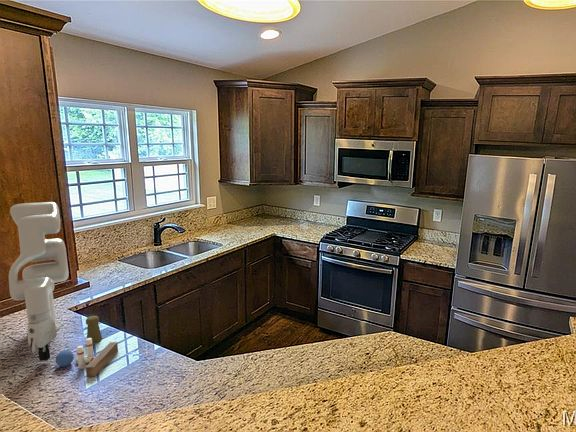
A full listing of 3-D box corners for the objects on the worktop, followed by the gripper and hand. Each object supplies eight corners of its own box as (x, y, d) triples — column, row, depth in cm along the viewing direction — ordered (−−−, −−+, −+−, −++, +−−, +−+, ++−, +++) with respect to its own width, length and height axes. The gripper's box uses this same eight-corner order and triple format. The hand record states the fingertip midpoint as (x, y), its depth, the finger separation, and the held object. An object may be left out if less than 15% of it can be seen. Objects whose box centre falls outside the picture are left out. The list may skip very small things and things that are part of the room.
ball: (78, 356, 142) (74, 365, 144) (71, 344, 144) (67, 353, 146) (61, 362, 137) (57, 372, 139) (54, 350, 139) (50, 360, 141)
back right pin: (78, 366, 141) (76, 346, 139) (85, 365, 142) (83, 345, 140) (78, 370, 139) (76, 349, 137) (85, 368, 140) (83, 347, 138)
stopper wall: (86, 377, 134) (85, 367, 134) (110, 351, 152) (110, 342, 151) (94, 377, 134) (93, 367, 134) (118, 351, 152) (117, 342, 151)
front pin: (76, 356, 143) (99, 355, 144) (79, 359, 145) (101, 358, 145) (74, 361, 142) (97, 360, 142) (76, 364, 143) (99, 363, 144)
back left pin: (87, 358, 147) (85, 338, 145) (93, 356, 148) (91, 337, 146) (87, 361, 145) (85, 341, 143) (94, 359, 146) (92, 339, 144)
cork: (98, 335, 165) (96, 312, 163) (104, 339, 161) (102, 316, 160) (84, 340, 161) (81, 317, 159) (90, 345, 157) (87, 321, 155)
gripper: (35, 324, 133) (41, 370, 136) (61, 307, 148) (66, 349, 151) (15, 324, 133) (21, 370, 136) (43, 307, 148) (48, 349, 151)
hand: (44, 359), depth 143 cm, fingers closed
